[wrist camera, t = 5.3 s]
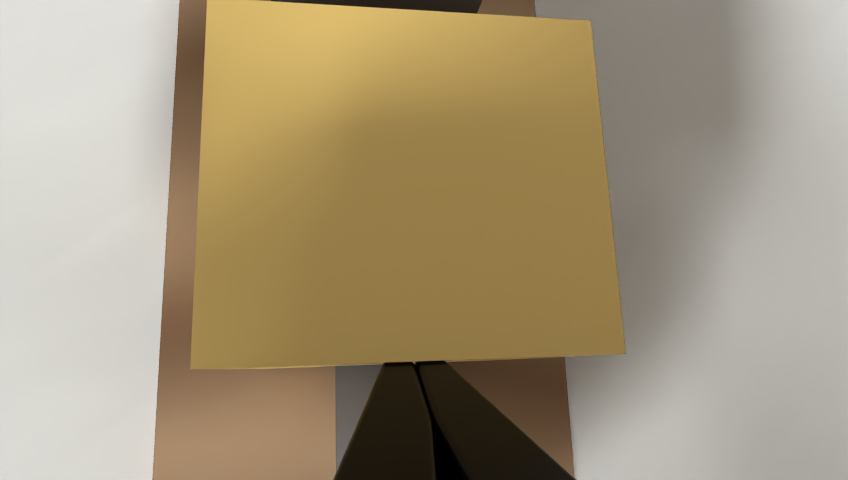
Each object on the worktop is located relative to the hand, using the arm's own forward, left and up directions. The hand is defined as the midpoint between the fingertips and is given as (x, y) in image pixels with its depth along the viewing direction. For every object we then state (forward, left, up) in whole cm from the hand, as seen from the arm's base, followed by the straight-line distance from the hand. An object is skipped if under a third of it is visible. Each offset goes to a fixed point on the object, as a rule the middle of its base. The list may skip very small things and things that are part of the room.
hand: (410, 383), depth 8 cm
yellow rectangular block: (+2, -2, -8) cm, 8 cm away
